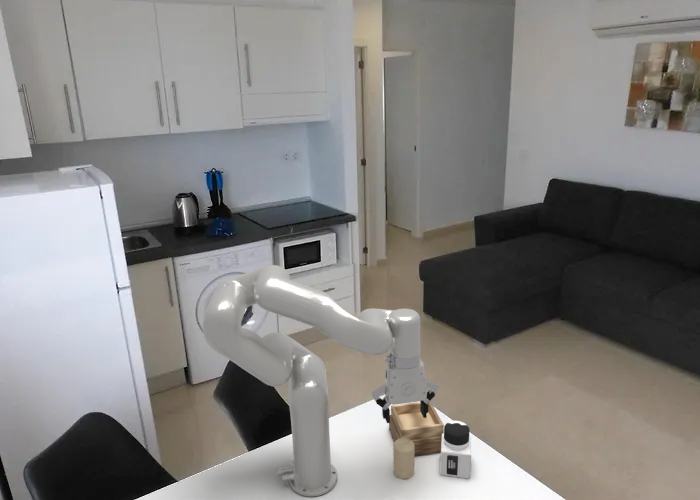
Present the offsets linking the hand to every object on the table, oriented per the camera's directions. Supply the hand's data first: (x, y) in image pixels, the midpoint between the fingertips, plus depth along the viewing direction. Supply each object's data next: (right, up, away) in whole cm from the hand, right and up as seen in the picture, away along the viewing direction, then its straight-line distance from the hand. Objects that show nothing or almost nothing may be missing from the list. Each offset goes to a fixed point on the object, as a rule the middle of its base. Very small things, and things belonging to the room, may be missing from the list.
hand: (405, 417), depth 134 cm
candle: (0, -16, +5) cm, 17 cm away
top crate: (+5, -7, +16) cm, 18 cm away
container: (+14, -16, +6) cm, 22 cm away
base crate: (+5, -12, +17) cm, 22 cm away
